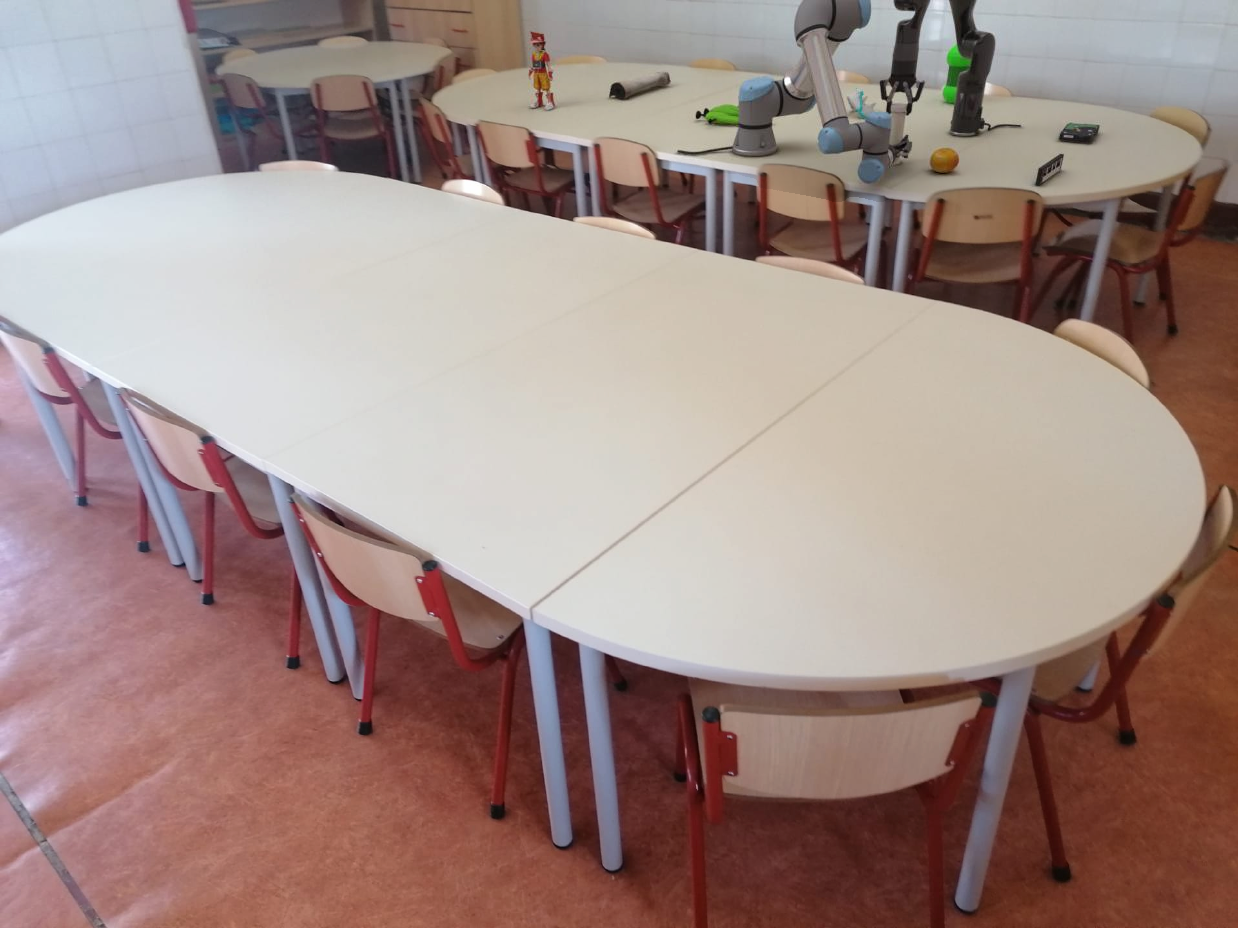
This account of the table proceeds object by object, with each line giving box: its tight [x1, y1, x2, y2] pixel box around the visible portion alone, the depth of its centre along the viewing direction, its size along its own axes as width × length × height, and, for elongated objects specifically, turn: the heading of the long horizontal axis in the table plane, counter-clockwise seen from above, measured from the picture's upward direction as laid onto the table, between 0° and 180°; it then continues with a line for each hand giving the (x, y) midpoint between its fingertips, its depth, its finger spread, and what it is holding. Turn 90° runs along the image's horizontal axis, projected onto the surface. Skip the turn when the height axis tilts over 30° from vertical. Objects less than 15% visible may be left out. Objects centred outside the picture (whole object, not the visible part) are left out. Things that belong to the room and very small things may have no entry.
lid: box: [891, 102, 907, 112], centre depth 285 cm, size 5×5×2 cm
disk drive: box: [1058, 122, 1101, 144], centre depth 307 cm, size 10×3×15 cm
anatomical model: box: [846, 87, 877, 119], centre depth 344 cm, size 15×10×10 cm
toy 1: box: [527, 31, 556, 111], centre depth 374 cm, size 12×9×30 cm
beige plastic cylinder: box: [889, 111, 906, 166], centre depth 290 cm, size 4×4×17 cm
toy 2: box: [695, 103, 739, 125], centre depth 347 cm, size 28×5×30 cm
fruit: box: [929, 147, 960, 174], centre depth 283 cm, size 8×8×8 cm
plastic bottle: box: [942, 43, 971, 104], centre depth 348 cm, size 10×10×25 cm
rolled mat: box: [608, 71, 672, 101], centre depth 395 cm, size 30×9×10 cm
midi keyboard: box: [1035, 153, 1065, 186], centre depth 273 cm, size 18×1×5 cm, turn 138°
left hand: (898, 138), depth 296 cm, fingers closed on beige plastic cylinder, 4 cm apart
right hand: (898, 114), depth 287 cm, fingers closed on lid, 5 cm apart
